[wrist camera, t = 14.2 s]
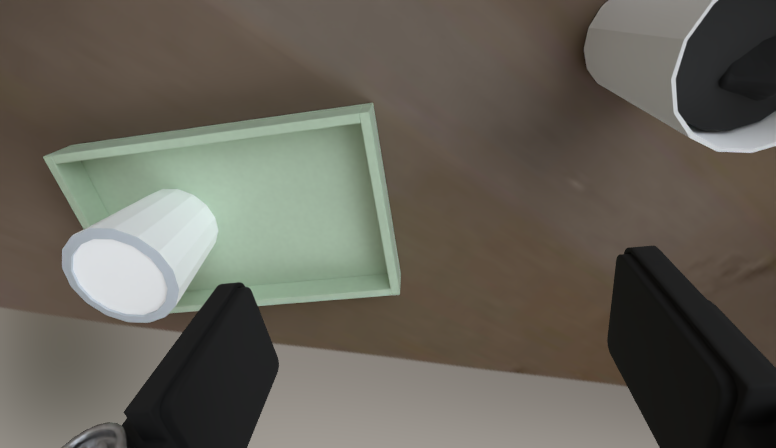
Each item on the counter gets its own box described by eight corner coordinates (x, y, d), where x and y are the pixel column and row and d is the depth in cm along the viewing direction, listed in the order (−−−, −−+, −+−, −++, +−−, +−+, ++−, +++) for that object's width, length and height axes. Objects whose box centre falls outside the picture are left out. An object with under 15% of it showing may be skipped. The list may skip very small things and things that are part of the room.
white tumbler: (728, -13, 22) (942, -24, 13) (661, 111, 25) (796, 170, 16) (608, -44, 21) (744, -77, 12) (556, 86, 24) (635, 132, 16)
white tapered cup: (241, 213, 29) (194, 268, 23) (207, 276, 32) (158, 341, 26) (149, 161, 28) (73, 206, 22) (122, 233, 31) (48, 290, 25)
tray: (372, 102, 26) (368, 111, 23) (401, 274, 32) (399, 294, 29) (71, 144, 28) (41, 156, 26) (150, 296, 34) (132, 316, 32)
